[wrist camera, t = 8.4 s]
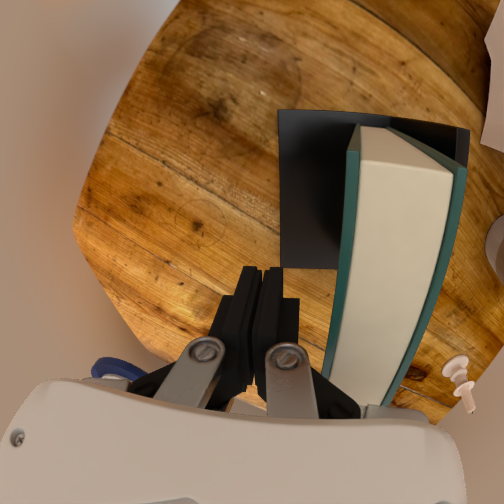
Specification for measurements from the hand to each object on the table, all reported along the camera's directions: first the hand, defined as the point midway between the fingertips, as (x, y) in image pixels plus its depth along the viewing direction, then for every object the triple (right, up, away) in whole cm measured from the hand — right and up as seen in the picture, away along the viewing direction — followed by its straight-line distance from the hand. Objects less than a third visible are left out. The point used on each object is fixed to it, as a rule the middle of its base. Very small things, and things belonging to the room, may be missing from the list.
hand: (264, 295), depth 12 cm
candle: (+33, -17, +24) cm, 44 cm away
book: (+5, +2, +5) cm, 8 cm away
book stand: (+8, +8, +14) cm, 18 cm away
